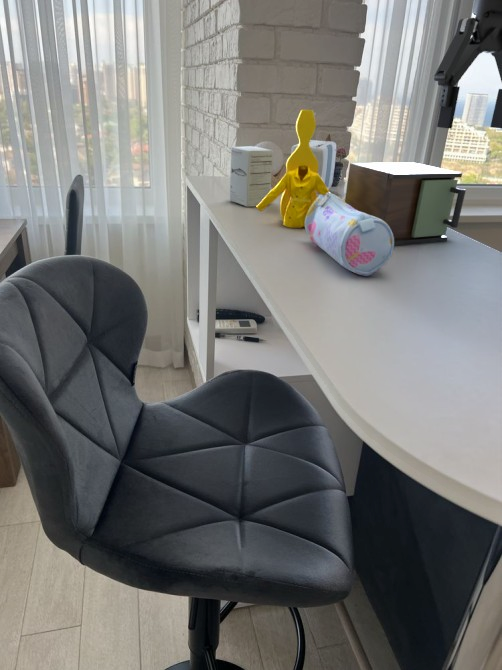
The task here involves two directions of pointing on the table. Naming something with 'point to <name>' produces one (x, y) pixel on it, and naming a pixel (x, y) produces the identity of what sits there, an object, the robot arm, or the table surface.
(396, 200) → the cabinet
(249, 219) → the table surface
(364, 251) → the pencil case
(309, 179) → the figure statuette
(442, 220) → the sliding door
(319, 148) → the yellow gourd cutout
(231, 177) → the white packaging box
